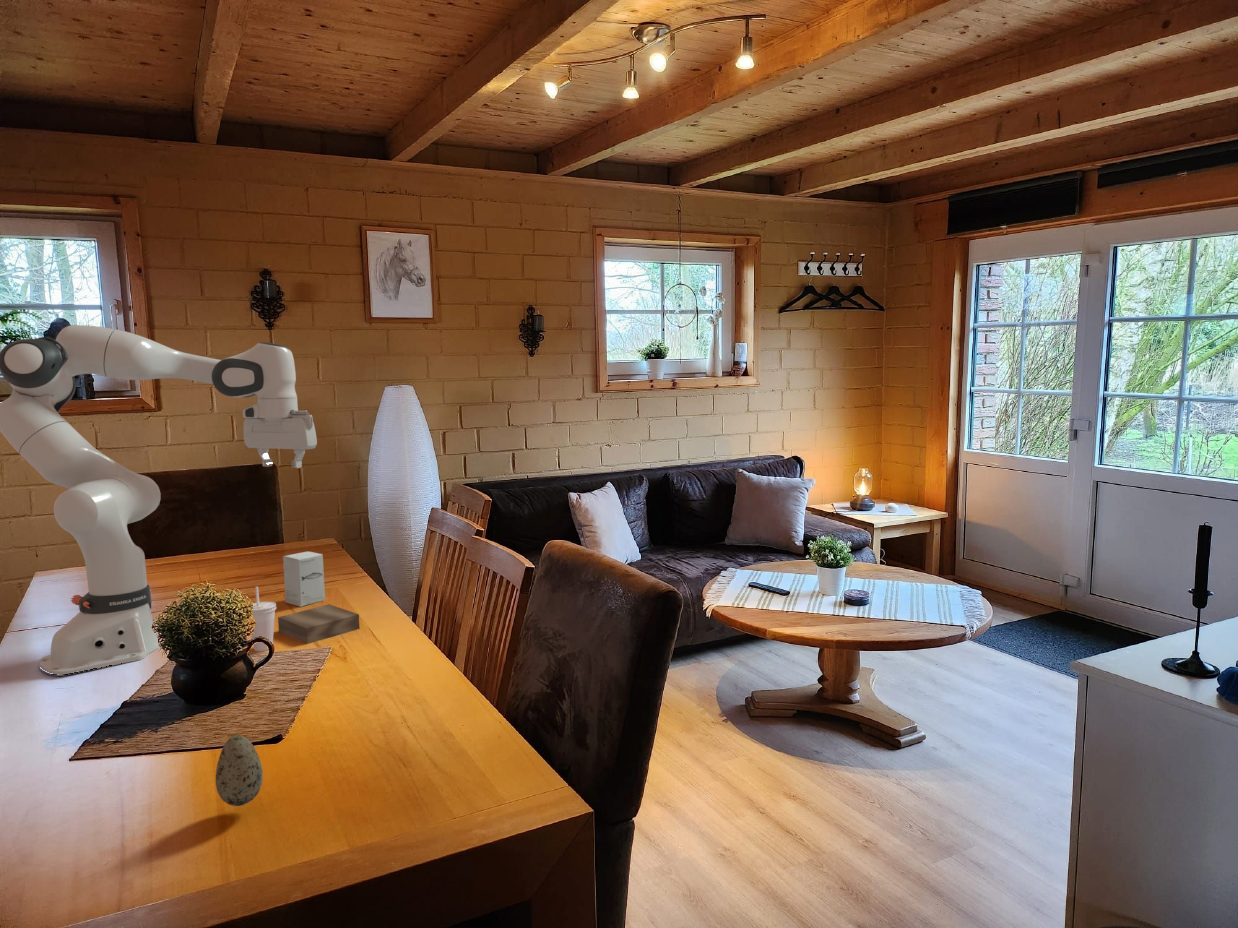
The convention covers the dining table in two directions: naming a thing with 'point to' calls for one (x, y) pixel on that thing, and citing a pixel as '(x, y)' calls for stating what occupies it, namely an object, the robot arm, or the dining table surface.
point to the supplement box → (304, 578)
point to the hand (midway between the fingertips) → (282, 467)
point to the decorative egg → (238, 772)
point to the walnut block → (318, 623)
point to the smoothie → (263, 621)
